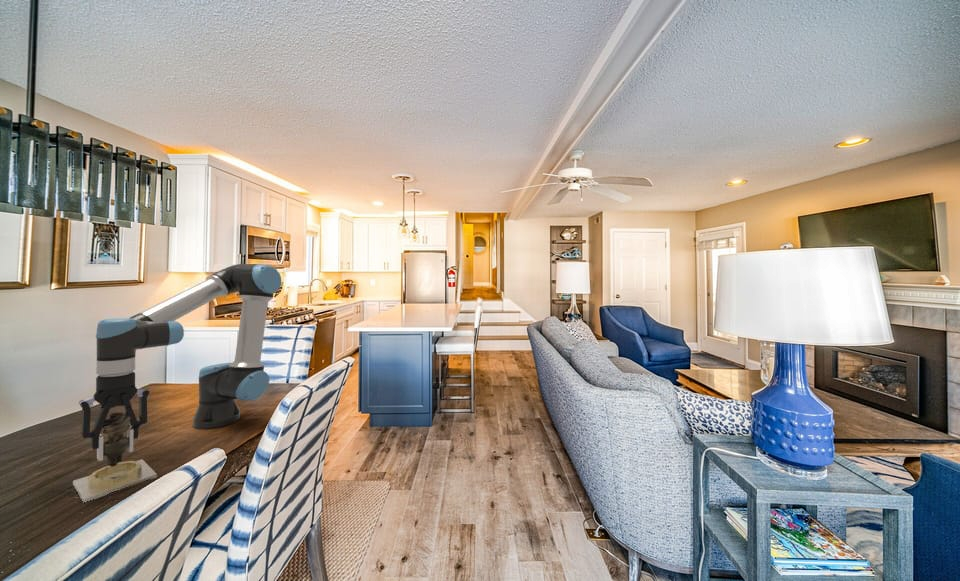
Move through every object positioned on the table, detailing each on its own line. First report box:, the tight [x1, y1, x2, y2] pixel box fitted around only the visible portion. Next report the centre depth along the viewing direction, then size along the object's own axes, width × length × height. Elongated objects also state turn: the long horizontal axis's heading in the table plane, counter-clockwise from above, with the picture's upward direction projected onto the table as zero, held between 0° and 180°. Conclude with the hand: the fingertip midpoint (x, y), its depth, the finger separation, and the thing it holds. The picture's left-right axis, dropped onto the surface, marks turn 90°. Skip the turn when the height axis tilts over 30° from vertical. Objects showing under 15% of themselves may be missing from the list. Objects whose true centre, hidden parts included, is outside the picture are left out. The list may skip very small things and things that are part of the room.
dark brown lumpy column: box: [102, 412, 131, 466], centre depth 96 cm, size 6×6×15 cm
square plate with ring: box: [72, 459, 158, 504], centre depth 96 cm, size 14×14×3 cm
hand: (115, 454), depth 96 cm, fingers closed on dark brown lumpy column, 5 cm apart
